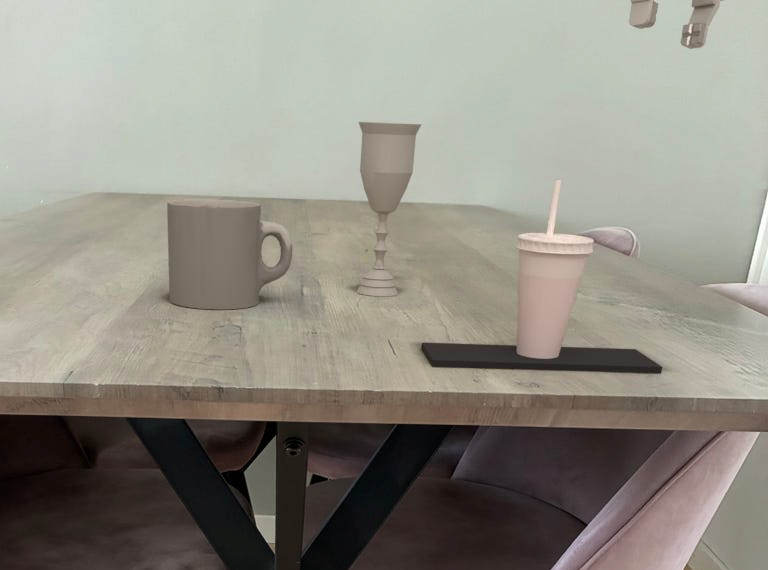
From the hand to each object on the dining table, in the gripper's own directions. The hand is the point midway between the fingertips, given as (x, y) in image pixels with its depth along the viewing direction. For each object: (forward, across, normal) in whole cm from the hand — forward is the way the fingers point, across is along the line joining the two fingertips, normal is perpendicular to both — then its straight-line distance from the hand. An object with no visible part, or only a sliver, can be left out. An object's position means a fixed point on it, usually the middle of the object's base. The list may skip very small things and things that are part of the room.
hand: (667, 37), depth 88 cm
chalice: (+24, -4, +31) cm, 39 cm away
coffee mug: (+26, -23, +35) cm, 49 cm away
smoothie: (+28, -17, -2) cm, 33 cm away
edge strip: (+28, -17, -2) cm, 33 cm away
